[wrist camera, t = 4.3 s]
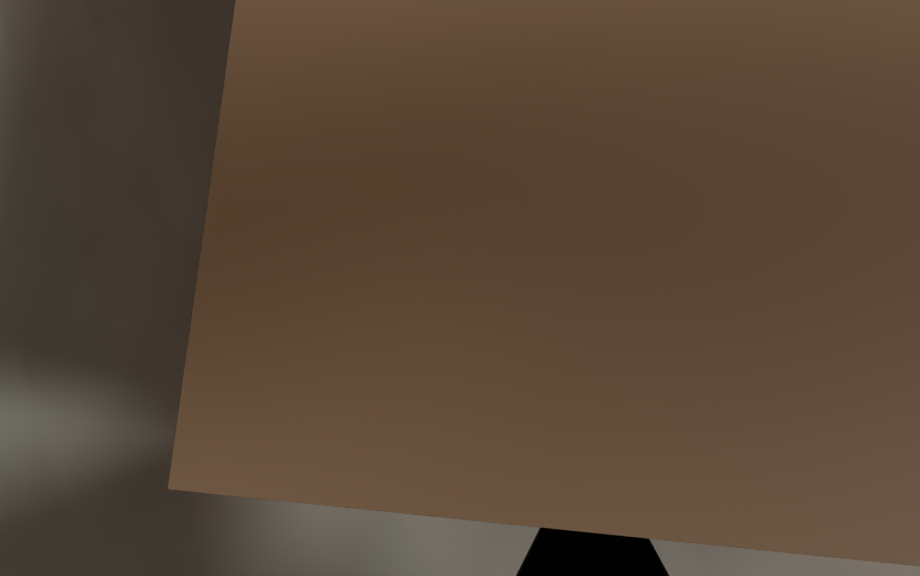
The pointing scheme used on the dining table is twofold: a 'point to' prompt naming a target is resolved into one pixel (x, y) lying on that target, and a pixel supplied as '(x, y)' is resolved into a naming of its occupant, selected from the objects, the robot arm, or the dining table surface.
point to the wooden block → (568, 268)
